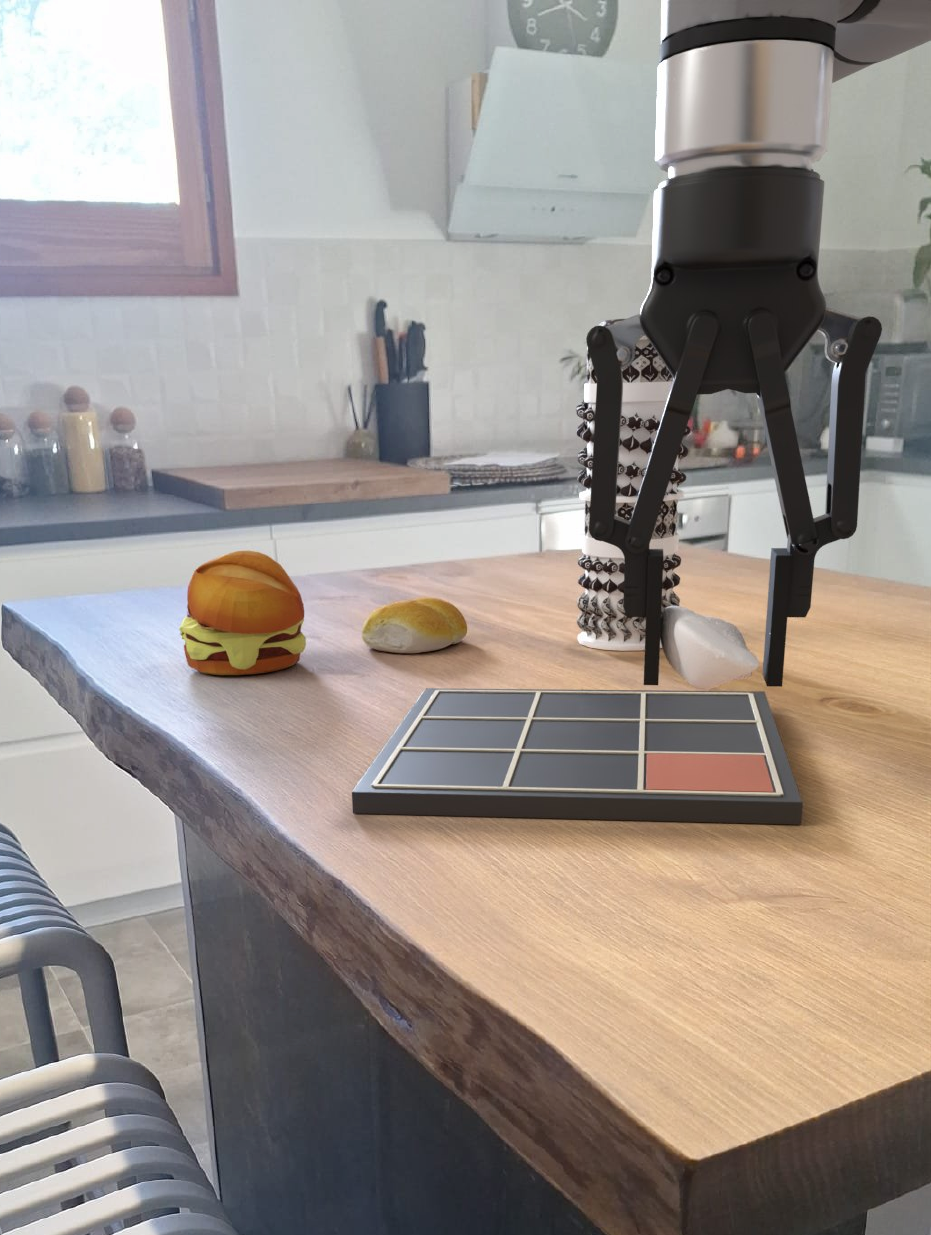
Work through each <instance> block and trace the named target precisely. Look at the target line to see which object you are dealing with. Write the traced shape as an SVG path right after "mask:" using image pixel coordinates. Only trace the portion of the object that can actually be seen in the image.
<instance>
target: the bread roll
mask: <svg viewBox="0 0 931 1235" xmlns="http://www.w3.org/2000/svg"><path fill="white" fill-rule="evenodd" d="M467 634H468V624H467V620H466V619H465V617H464V615H463V613H462V611H460V610H459V608H458V607H456V606H455V605H454V604H453V603H451V602H449V601H447V600H445V599H442V598H439V597H433V596H420V597H416V598H413V599H409V600H399V601H394V602H390V603H387V604H385V605H382V606H379V607H377V608H376V609H374V610H372V611H371V612H370V613H369V614H368V617H367V618H366V620H365V621H364V623H363V626H362V628H361V639H362V641H363V642H364V643H365V645H366V646H367V647H369V648H371V649H373V650H376V651H379V652H387V653H393V654H394V653H395V654H421V653H428V652H433V651H438V650H441V649H445V648H447V647H449V646H450V645H455V644H459V643H461V642H462V641H463V640H464V639H465V637H466V636H467Z"/></svg>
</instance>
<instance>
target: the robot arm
mask: <svg viewBox="0 0 931 1235" xmlns="http://www.w3.org/2000/svg"><path fill="white" fill-rule="evenodd" d="M660 2H661V3H660V4H661V8H660V45H659V47H660V48H659V63H658V64H659V65H657V85H656V86H657V87H656V88H657V89H656V90H657V91H656V95H657V96H656V120H655V122H656V123H655V149H654V150H655V152H654V162H655V164H656V166H658V168H659V169H660V170H661V171H664V172H666V173H667V179H665V180H662V181H661V182H660V183H659V184H658V188H656V189H655V190H654V192H653V213H652V214H653V215H652V216H653V218H652V248H651V279H650V280H651V282H650V286H649V289H648V292H647V295H646V297H645V298H644V300H643V302H642V303H641V307H640V311H639V313H638V314H635V315H633V316H630V317H628V318H624V319H625V320H622V321H619V322H617V323H614V324H611V325H609V326H601V325H600V324H599V325H600V326H599V325H595V326H593V327H592V328H590V329H589V331H588V332H587V335H586V340H585V342H587V343H586V348H587V347H588V350H589V354H590V357H591V361H592V364H593V368H594V371H595V375H596V378H597V389H596V408H595V426H594V445H593V463H592V481H591V500H590V518H589V532H590V535H591V536H592V538H594V539H595V540H598V541H603V542H606V543H609V544H612V545H614V546H616V547H618V548H619V549H620V550H621V551H622V552H623V555H624V559H625V566H624V601H623V608H624V610H625V613H626V616H627V617H646V630H645V650H644V659H643V661H644V662H643V664H644V666H643V686H659V682H660V680H659V679H660V678H659V677H660V676H659V675H660V655H661V654H660V653H661V648H660V631H661V606H662V581H663V549H649V544H650V541H651V538H652V534H653V531H654V528H655V525H656V522H657V519H658V515H659V512H660V509H661V506H662V503H663V500H664V496H665V493H666V490H667V487H668V484H669V481H670V477H671V474H672V471H673V468H674V465H675V462H676V458H677V455H678V452H679V449H680V446H681V443H682V444H683V439H684V438H683V436H684V433H685V430H686V427H687V426H688V424H689V420H690V417H691V414H692V413H693V412H692V411H693V409H694V405H695V403H696V399H697V397H698V395H713V394H716V393H719V392H720V393H721V392H723V391H726V390H731V391H734V392H739V393H742V394H755V395H756V401H757V406H758V409H759V413H760V416H761V421H762V427H763V430H764V435H765V440H766V445H767V450H768V455H769V458H770V463H771V468H772V472H773V478H774V484H775V488H776V492H777V496H778V502H779V507H780V511H781V516H782V521H783V524H784V529H785V534H786V539H787V541H786V542H787V545H786V547H771V549H770V564H769V565H770V566H769V575H768V576H769V577H768V592H767V606H766V621H765V633H764V645H763V646H764V650H763V662H762V664H763V665H762V677H763V681H764V683H765V685H766V687H769V688H770V687H774V688H775V687H776V688H777V687H778V688H779V687H782V688H783V682H784V681H783V679H784V667H785V666H784V665H785V654H786V641H787V628H788V618H807V616H808V613H809V612H810V609H811V605H812V595H813V594H812V593H813V584H814V583H813V582H814V570H815V561H816V560H815V559H816V555H817V553H818V552H819V550H820V549H821V548H823V547H824V546H826V545H829V544H831V543H834V542H837V541H840V540H846V539H847V540H848V539H850V538H851V537H853V536H854V534H855V533H856V531H857V529H858V517H859V516H858V515H859V500H860V483H861V466H862V464H861V462H862V448H863V446H862V445H863V432H864V431H863V430H864V429H863V428H864V411H865V391H866V377H867V375H866V374H867V371H868V369H869V366H870V363H871V360H872V359H873V356H874V353H875V351H876V349H877V346H878V343H879V341H880V338H881V336H882V332H883V326H882V323H881V321H880V320H879V319H878V318H876V317H875V316H869V315H868V316H865V317H859V316H855V315H852V314H849V313H846V312H842V311H840V310H837V309H833V308H830V307H827V301H826V297H825V295H824V293H823V291H822V288H821V285H820V281H819V260H820V259H819V258H820V246H821V232H822V219H823V209H824V208H823V206H824V194H825V180H823V179H822V178H821V174H820V173H819V172H817V171H814V168H813V164H815V163H817V162H819V161H820V160H821V159H822V158H823V156H824V155H825V154H827V152H828V148H829V147H828V145H829V132H830V131H829V130H830V117H831V116H830V115H831V102H832V91H833V90H832V88H833V83H836V82H838V81H840V80H842V79H844V78H846V77H849V76H851V75H854V74H855V73H857V72H860V71H862V70H864V69H866V68H868V67H870V66H872V65H874V64H878V63H881V62H884V61H887V60H890V59H892V58H895V57H896V56H899V55H901V54H904V53H906V52H908V51H910V50H913V49H915V48H917V47H919V46H921V45H924V44H926V43H929V42H931V0H661V1H660ZM817 332H819V333H820V334H821V335H822V336H823V338H824V342H825V343H824V349H823V350H824V356H825V358H826V359H827V360H828V361H830V362H832V363H834V365H833V370H832V375H831V385H830V404H829V405H830V406H829V423H828V424H829V425H828V426H829V427H828V448H827V449H828V450H827V468H826V488H825V489H826V490H825V508H824V509H825V510H824V513H823V514H822V515H818V516H816V517H814V515H813V509H812V504H811V501H810V496H809V491H808V490H809V489H808V484H807V481H806V475H805V471H804V470H805V469H804V465H803V461H802V456H801V451H800V446H799V441H798V436H797V432H796V427H795V421H794V417H793V411H792V406H791V404H792V403H791V396H790V391H789V386H788V383H787V378H786V373H787V371H788V370H789V369H790V367H791V366H792V365H793V364H794V362H795V361H796V359H797V358H798V357H799V355H800V354H801V353H802V352H803V350H804V348H806V346H807V344H808V343H809V342H810V341H811V339H812V338H813V337H814V335H816V333H817ZM643 336H646V337H647V338H648V340H649V342H650V343H651V345H652V346H653V348H654V349H655V351H656V352H657V354H658V355H659V357H660V358H661V360H662V361H663V363H664V364H665V366H666V367H667V369H668V370H669V372H670V373H671V375H672V376H673V378H674V380H673V383H672V386H671V390H670V393H669V396H668V399H667V403H666V406H665V410H664V413H663V416H662V419H661V423H660V426H659V429H658V432H657V436H656V439H655V442H654V445H653V449H652V452H651V455H650V458H649V462H648V465H647V468H646V472H645V475H644V478H643V481H642V485H641V488H640V491H639V494H638V498H637V501H636V504H635V507H634V511H633V514H632V517H631V520H630V521H628V520H625V519H622V518H620V517H617V516H615V511H616V495H617V479H618V462H619V446H620V430H621V414H622V398H623V376H622V369H624V368H627V367H629V366H630V365H631V364H632V362H633V361H634V358H635V346H636V343H637V342H638V340H639V339H640V338H642V337H643ZM769 633H771V634H769Z"/></svg>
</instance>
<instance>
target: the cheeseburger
mask: <svg viewBox="0 0 931 1235" xmlns="http://www.w3.org/2000/svg"><path fill="white" fill-rule="evenodd" d="M186 598H187V605H186V608H187V612H186V615H185V617H184V618H183V619H182V622H181V624H180V626H179V628H178V630H179V631H180V633H179V635H180V636H181V639H182V640H184V642H185V644H184V645H183V651H184V656H185V659H186V664H187V666H188V667H190V668H192V669H193V670H196V671H197V672H198V673H201V674H205V675H206V674H207V675H215V676H245V675H259V674H260V675H261V674H264V673H265V674H266V673H271V672H276V671H281V670H284V669H287V668H288V669H289V668H290V667H292V666H294V665H296V663H298V662H299V661H300V658H301V655H302V653H303V652H304V651H305V648H306V647H307V639H306V638H307V637H306V636H305V634H304V633H303V632H302V626H303V625H304V624H303V623H304V621H305V619H304V618H305V606H304V605H305V604H304V603H303V598H302V594H301V593H300V591H299V589H298V587H297V586H296V584H295V583H294V581H293V580H292V578H291V577H290V575H289V574H288V573H287V572H286V570H285V568H284V567H283V566H282V565H281V564H280V563H279V562H277V561H276V560H275V559H273V558H272V557H271V556H269V555H267V554H265V553H262V552H260V551H253V550H237V551H233V552H229V553H226V554H222V555H220V556H218V557H215V558H213V559H211V560H208V561H207V562H205V563H203V564H201V565H199V566H198V567H197V568H195V570H194V572H193V574H192V576H191V578H190V581H189V583H188V585H187V596H186Z"/></svg>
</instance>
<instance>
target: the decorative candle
mask: <svg viewBox="0 0 931 1235" xmlns="http://www.w3.org/2000/svg"><path fill="white" fill-rule="evenodd" d="M625 319H626V318H615V319H614V318H613V319H606V320H604V321H602V322H601V323H599V324H598V326H600V325H601V326H609V325H611V324H614V323H617V322H619V321H622V320H625ZM584 344H587V341H585V342H584ZM622 376H623V398H622V414H621V430H620V446H619V462H618V479H617V495H616V511H615V516H617V517H620V518H622V519H625V520H628V521H630V520H631V517H632V514H633V511H634V507H635V504H636V501H637V498H638V494H639V491H640V488H641V485H642V481H643V478H644V475H645V472H646V468H647V465H648V462H649V458H650V455H651V452H652V449H653V445H654V442H655V439H656V436H657V432H658V429H659V426H660V423H661V419H662V416H663V413H664V410H665V406H666V403H667V399H668V396H669V393H670V390H671V386H672V383H673V380H674V378H673V376H672V375H671V373H670V372H669V370H668V369H667V367H666V366H665V364H664V363H663V361H662V360H661V358H660V357H659V355H658V354H657V352H656V351H655V349H654V348H653V346H652V345H651V343H650V342H649V340H648V338H647V337H646V336H643V337H642V338H640V339H639V340H638V342H637V343H636V346H635V358H634V361H633V362H632V364H631V365H630V366H629V367H627V368H624V369H622ZM583 388H584V389H583V391H584V392H583V400H582V401H581V402H580V403H578V404H577V405H576V407H575V414H576V416H577V417H578V418H581V419H582V420H583V422H582V423H580V424H578V425H577V427H576V430H575V434H576V436H577V437H579V438H581V440H583V442H586V446H584V448H583V449H581V450H579V452H578V453H577V462H578V463H579V464H580V465H582V466H583V467H584V468H583V469H582V470H580V471H579V472H578V476H577V479H576V480H577V482H578V483H579V484H581V486H583V487H584V488H586V489H585V490H583V491H581V492H580V491H579V496H578V497H579V499H580V500H581V501H584V529H583V530H584V533H583V534H582V535H581V552H582V553H583V555H581V556H580V557H579V558H578V560H577V565H578V566H579V567H580V568H582V569H583V570H584V571H585V572H584V573H582V574H581V575H580V576H579V578H578V579H577V584H578V585H579V586H580V587H582V588H583V589H584V591H583V593H582V594H581V595H579V597H578V598H577V600H576V606H577V608H578V610H579V611H581V613H580V614H579V615H578V617H577V619H576V625H577V626H578V628H579V629H580V630H581V631H582V632H580V633H578V635H577V642H578V643H579V645H582V646H584V647H587V648H591V649H598V650H604V651H619V652H620V651H621V652H630V651H631V652H632V651H635V652H637V651H645V630H646V617H627V616H626V613H625V610H624V608H623V601H624V566H625V559H624V555H623V552H622V551H621V550H620V549H619V548H618V547H616V546H614V545H612V544H609V543H606V542H603V541H598V540H595V539H594V538H592V536H591V535H590V532H589V518H590V500H591V481H592V463H593V445H594V426H595V408H596V389H597V378H596V375H595V371H594V368H593V364H592V361H591V357H590V354H589V350H588V347H587V346H586V383H584V386H583ZM691 430H692V429H691V427H690V426H689V425H687V427H686V430H685V433H684V436H683V439H685V438H687V437H688V436H689V435H690V433H691V432H692V431H691ZM689 452H690V451H689V448H688V447H687V446H686V445H684V443H683V442H682V443H681V446H680V449H679V452H678V455H677V458H676V462H675V465H674V468H673V471H672V474H671V477H670V481H669V484H668V487H667V490H666V493H665V496H664V500H663V503H662V506H661V509H660V512H659V515H658V519H657V522H656V525H655V528H654V531H653V534H652V538H651V541H650V544H649V549H663V581H662V606H661V616H662V613H663V610H664V609H665V608H666V607H669V606H680V602H681V599H680V597H679V596H678V595H677V594H676V593H675V591H674V588H675V587H677V586H678V585H680V583H681V576H680V575H678V574H676V573H675V571H674V570H675V569H677V568H678V567H681V563H682V557H681V556H679V555H678V554H677V553H678V552H679V543H680V542H679V540H680V534H679V533H678V532H677V531H678V529H677V524H678V518H679V516H678V515H679V514H678V513H679V512H678V503H679V500H680V499H682V498H683V499H684V498H685V492H684V491H683V490H682V489H679V488H678V487H679V486H680V485H681V484H683V483H684V482H686V480H687V475H686V473H684V472H683V471H681V470H680V469H679V461H680V462H681V461H682V459H684V458H686V457H687V456H688V455H689ZM660 649H663V648H662V645H661V639H660Z"/></svg>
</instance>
